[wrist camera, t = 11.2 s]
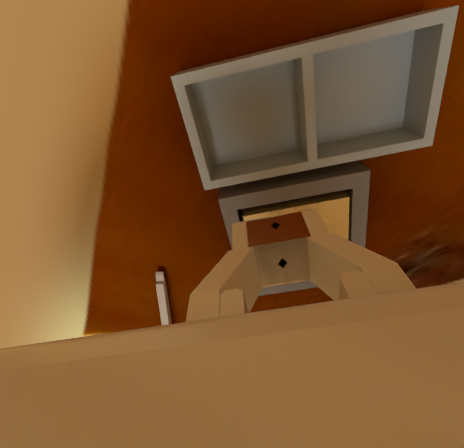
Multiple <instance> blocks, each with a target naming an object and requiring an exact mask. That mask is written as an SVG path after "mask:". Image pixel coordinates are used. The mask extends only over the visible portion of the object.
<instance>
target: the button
mask: <svg viewBox="0 0 464 448" xmlns="http://www.w3.org/2000/svg"><path fill="white" fill-rule="evenodd" d="M313 208H314V209H316V211H317V213H318V214H319V216H320V218H321V220H322V222H323V224H324V226H325V228H326V230H327V232H328V234H330V233H334V234H336V235H338V236H340V237H342V238H344V239H347V240H348V234H349V196H348V194H347V193H346V192H345V190H341V191H336V192H331V193H325V194H320V195H314V196H309V197H304V198H298V199H293V200H288V201H282V202H277V203H271V204H266V205H261V206H255V207H250V208H245V209H242V210H243V219H244V221H248V220H254V219H261V218H267V217H275V216H280V215H285V214H290V213H295V212H299V211H303V210H308V209H313ZM309 280H310V279H309ZM301 281H307V280H301ZM301 281H293V282H285V283H280V284H274V285H269V286H275V285H281V284H288V283H294V282H301ZM264 287H268V286H264Z"/></svg>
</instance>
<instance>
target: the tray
mask: <svg viewBox="0 0 464 448" xmlns="http://www.w3.org/2000/svg"><path fill="white" fill-rule="evenodd" d="M458 9H459V5H457V6H450V7H443V8H437V9H430V10H424V11H420V12H415V13H411V14H407V15H403V16H399V17H395V18H391V19H387V20H383V21H379V22H375V23H371V24H367V25H363V26H359V27H355V28H351V29H347V30H343V31H339V32H335V33H331V34H327V35H323V36H319V37H315V38H311V39H307V40H303V41H299V42H295V43H291V44H287V45H283V46H279V47H275V48H271V49H267V50H263V51H259V52H255V53H251V54H247V55H243V56H239V57H235V58H231V59H227V60H223V61H219V62H215V63H211V64H207V65H203V66H199V67H195V68H191V69H187V70H183V71H179V72H177V73H176V74H174V75H172V76H171V80H172V83H173V86H174V90H175V93H176V97H177V100H178V103H179V107H180V110H181V113H182V117H183V120H184V123H185V127H186V130H187V133H188V137H189V140H190V143H191V147H192V150H193V153H194V157H195V160H196V163H197V167H198V170H199V173H200V177H201V180H202V183H203V187H204V190H210V189H215V188H220V187H225V186H230V185H235V184H240V183H245V182H250V181H255V180H260V179H265V178H270V177H276V176H281V175H286V174H291V173H296V172H301V171H306V170H311V169H316V168H321V167H326V166H331V165H337V164H342V163H347V162H352V161H357V160H362V159H367V158H372V157H377V156H382V155H387V154H392V153H398V152H403V151H408V150H413V149H418V148H423V147H428V146H432V145H433V139H434V134H435V129H436V124H437V119H438V113H439V108H440V103H441V98H442V92H443V87H444V82H445V77H446V71H447V66H448V61H449V56H450V51H451V45H452V40H453V35H454V30H455V24H456V19H457V14H458Z"/></svg>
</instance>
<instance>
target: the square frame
mask: <svg viewBox="0 0 464 448" xmlns="http://www.w3.org/2000/svg"><path fill="white" fill-rule="evenodd" d="M370 171H371V170H370V169H369V168H368V167H366V166H365V165H364V164H363V163H362V162H361V161H360V160H357V161H352V162H347V163H342V164H337V165H331V166H326V167H321V168H316V169H311V170H306V171H301V172H296V173H291V174H286V175H281V176H276V177H270V178H265V179H260V180H255V181H250V182H245V183H240V184H235V185H230V186H225V187H220V188H219V194H218V201H219V205H220V208H221V212H222V216H223V219H224V223H225V227H226V230H227V234H228V237H229V241H230V245H231V248H232V224H233V223H237V222H242V221H243V219H242V215H241V211H240V209H245V208H250V207H255V206H261V205H266V204H271V203H277V202H282V201H288V200H293V199H298V198H304V197H309V196H314V195H320V194H325V193H331V192H336V191H341V190H345V192H346V193H347V194H348V196H349V234H348V240H349V241H351V242H353V243H355V244H357V245H360V246H362V247H364V248H365V243H366V229H367V215H368V200H369V186H370ZM315 287H317V286H316V285H315V284H314V283H313V282H311V281H310V280H307V281H301V282H294V283H288V284H281V285H275V286H268V287H262V289H261V291H260V293H259V295H258V296H262V295H268V294H275V293H282V292H288V291H295V290H302V289H308V288H315Z"/></svg>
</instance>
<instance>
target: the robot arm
mask: <svg viewBox="0 0 464 448" xmlns="http://www.w3.org/2000/svg"><path fill="white" fill-rule="evenodd" d="M309 279H310V281H311V282H313V283H314V284H315V285H316V286H317V287H319V288H320V289H321V290H322V291H323V292H325V293H326V294H327V295H328V296H329V297H331V298H332V299H333V300H334V301H327V302H321V303H314V304H307V305H300V306H293V307H286V308H280V309H273V310H266V311H259V312H252V313H249V312H250V310H251V308H252V307H253V305H254V303H255V301H256V299H257V297H258V295H259V293H260V291H261V289H262V287H264V286H269V285H274V284H280V283H285V282H293V281H301V280H309ZM0 448H464V282H459V283H452V284H445V285H438V286H432V287H425V288H418V289H416V288H415V286H414V285H413V284H412V282H411V281H410V280H409V278H408V277H407V276H406V274H405V273H404V272H403V270H402V269H401V268H400V266H399V265H398V264H397V263H396V262H394V261H392V260H390V259H388V258H386V257H383V256H381V255H379V254H377V253H375V252H373V251H370V250H368V249H366V248H364V247H362V246H360V245H357V244H355V243H353V242H351V241H349V240H347V239H344V238H342V237H340V236H338V235H336V234H334V233H330V234H328V232H327V230H326V228H325V226H324V224H323V222H322V220H321V218H320V216H319V214H318V213H317V211H316V209H314V208H313V209H308V210H303V211H299V212H295V213H290V214H285V215H280V216H275V217H267V218H261V219H254V220H248V221H242V222H237V223H233V224H232V250H231V251H228V252H227V253H226V254H225V256H224V257H223V258H222V259H221V260H220V261H219V262H218V264H217V265H216V266H215V267H214V268H213V269H212V270H211V271H210V273H209V274H208V275H207V276H206V277H205V278H204V279H203V281H202V282H201V283H200V284H199V285H198V286H197V287H196V289H195V290H194V291H193V292H192V293H191V294H190V299H189V305H188V312H187V318H186V322H183V323H176V324H169V325H162V326H155V327H148V328H141V329H134V330H127V331H120V332H113V333H107V334H100V335H93V336H86V337H79V338H72V339H65V340H58V341H51V342H44V343H37V344H30V345H23V346H16V347H10V348H3V349H0Z"/></svg>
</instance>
